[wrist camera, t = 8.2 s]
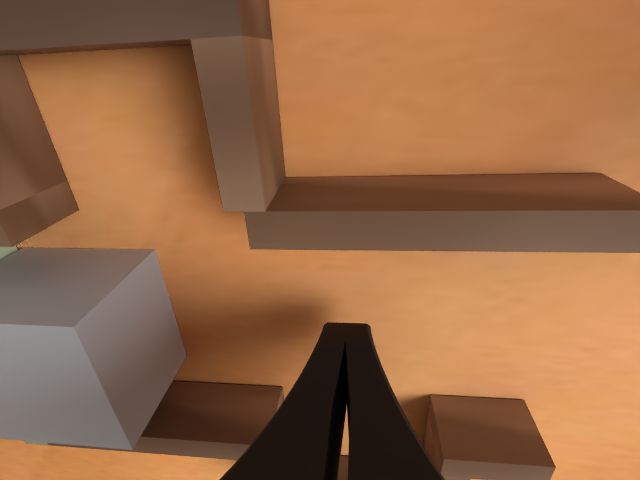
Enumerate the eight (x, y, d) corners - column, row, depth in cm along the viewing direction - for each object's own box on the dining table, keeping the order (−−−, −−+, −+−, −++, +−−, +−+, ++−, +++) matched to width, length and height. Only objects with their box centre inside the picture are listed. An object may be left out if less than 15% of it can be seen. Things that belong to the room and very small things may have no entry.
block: (188, 353, 14) (132, 450, 11) (77, 347, 15) (-10, 437, 12) (157, 247, 12) (73, 327, 9) (26, 245, 13) (-102, 319, 9)
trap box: (497, 480, 16) (518, 547, 14) (103, 449, 18) (69, 503, 16) (671, -40, 7) (808, -81, 5) (-135, 20, 9) (-285, 10, 7)
